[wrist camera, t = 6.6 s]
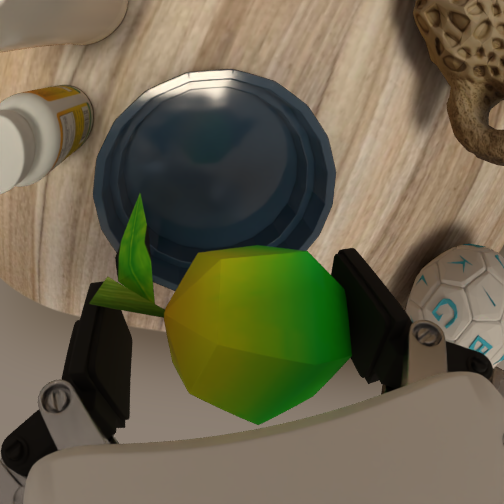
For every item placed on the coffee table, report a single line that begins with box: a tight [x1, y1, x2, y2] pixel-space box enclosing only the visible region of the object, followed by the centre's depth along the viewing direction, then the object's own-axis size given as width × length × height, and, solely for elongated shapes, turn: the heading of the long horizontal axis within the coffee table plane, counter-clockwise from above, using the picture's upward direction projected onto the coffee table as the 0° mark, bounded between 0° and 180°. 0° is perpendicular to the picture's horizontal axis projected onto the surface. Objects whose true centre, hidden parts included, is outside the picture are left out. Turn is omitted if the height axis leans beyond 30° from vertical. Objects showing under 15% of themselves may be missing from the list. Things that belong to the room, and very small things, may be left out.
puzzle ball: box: [406, 244, 504, 367], centre depth 28 cm, size 15×15×15 cm
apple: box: [89, 194, 352, 425], centre depth 10 cm, size 7×6×9 cm
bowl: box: [93, 69, 336, 291], centre depth 20 cm, size 15×15×5 cm
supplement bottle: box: [0, 85, 93, 194], centre depth 14 cm, size 5×5×10 cm
